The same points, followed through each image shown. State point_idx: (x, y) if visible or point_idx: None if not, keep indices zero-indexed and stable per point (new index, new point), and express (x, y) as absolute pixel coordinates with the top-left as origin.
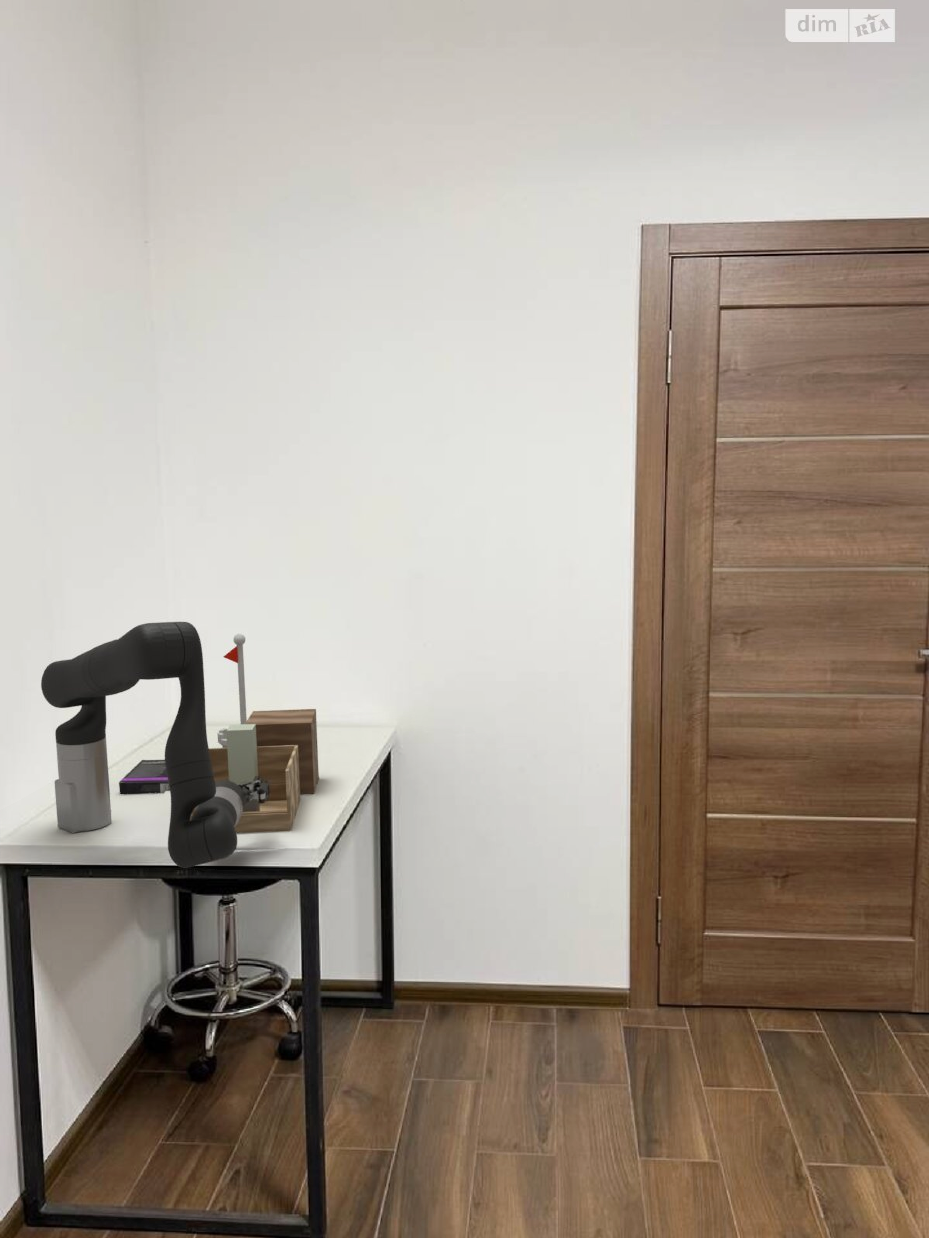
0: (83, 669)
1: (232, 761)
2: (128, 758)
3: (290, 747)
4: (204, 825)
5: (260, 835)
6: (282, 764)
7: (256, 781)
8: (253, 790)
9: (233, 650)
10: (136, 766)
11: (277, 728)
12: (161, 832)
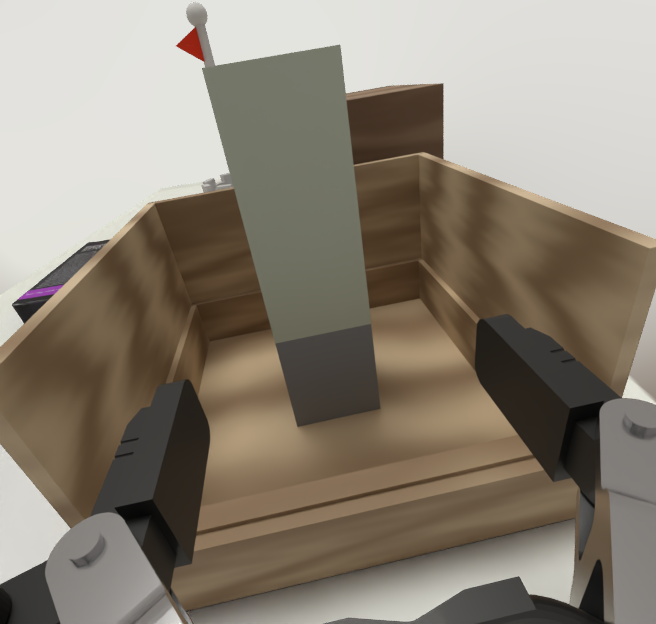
0: None
1: (265, 231)
2: (84, 240)
3: (406, 161)
4: None
5: (481, 560)
6: (385, 215)
7: (654, 434)
8: (553, 470)
9: (191, 35)
10: (70, 257)
11: (351, 114)
12: (47, 559)
